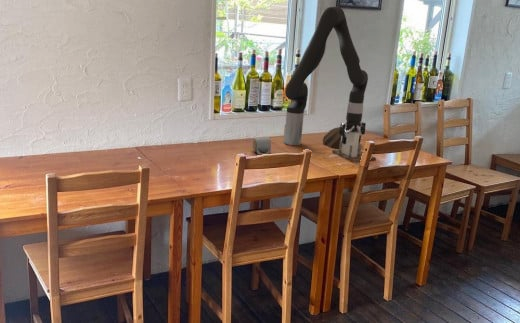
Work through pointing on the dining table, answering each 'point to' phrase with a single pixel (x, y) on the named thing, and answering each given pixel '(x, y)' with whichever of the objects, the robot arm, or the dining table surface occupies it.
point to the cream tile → (351, 140)
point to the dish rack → (348, 157)
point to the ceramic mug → (262, 145)
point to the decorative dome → (332, 138)
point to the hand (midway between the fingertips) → (350, 143)
